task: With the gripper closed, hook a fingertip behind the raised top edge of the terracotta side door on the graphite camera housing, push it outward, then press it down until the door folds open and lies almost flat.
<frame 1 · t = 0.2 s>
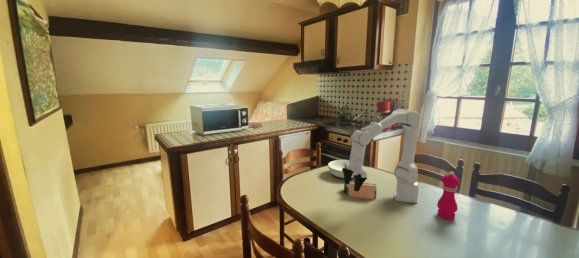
hand: (351, 187, 106), 10 cm above the table, tool pointing down, fingers open, 7 cm apart
pepper mill: (445, 216, 103), on the table
camera housing: (361, 193, 123), on the table
serving bowl: (344, 175, 148), on the table
side door: (361, 190, 118), point 4 cm above the table, hinge at 0.0°
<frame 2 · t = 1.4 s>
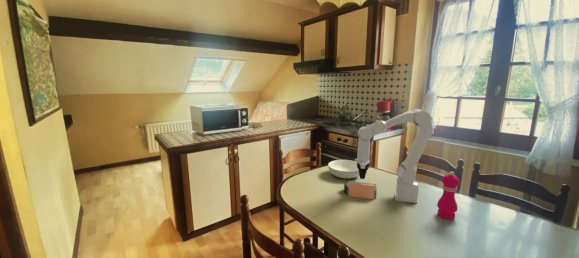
hand: (362, 177, 120), 9 cm above the table, tool pointing down, fingers closed
nothing on the table moved.
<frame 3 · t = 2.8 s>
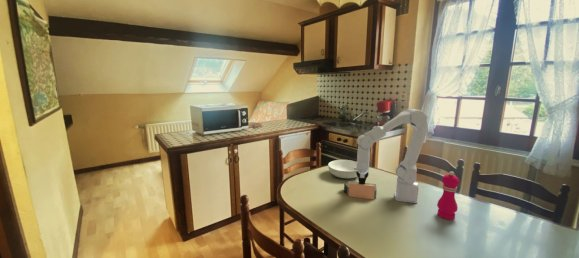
hand: (361, 186, 118), 6 cm above the table, tool pointing down, fingers closed, pressing on side door
side door: (361, 190, 118), point 4 cm above the table, hinge at 1.8°, touching gripper
everything else where it was.
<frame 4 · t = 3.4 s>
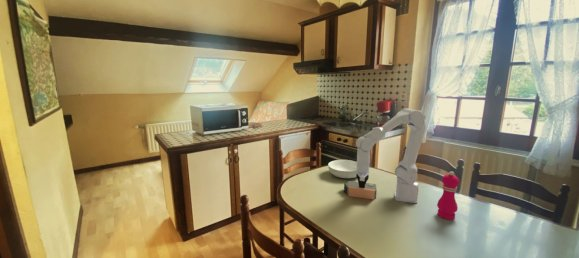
hand: (361, 189, 115), 6 cm above the table, tool pointing down, fingers closed, pressing on side door
side door: (361, 192, 116), point 3 cm above the table, hinge at 29.9°, touching gripper
everything else where it was.
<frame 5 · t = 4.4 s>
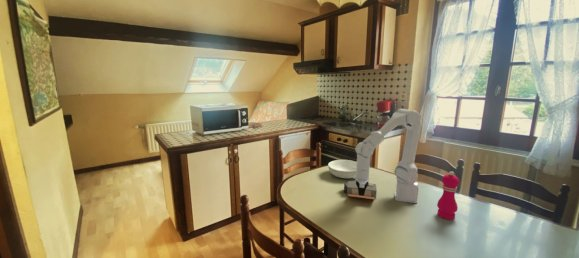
hand: (361, 195, 113), 4 cm above the table, tool pointing down, fingers closed, pressing on side door
side door: (361, 196, 115), point 2 cm above the table, hinge at 62.4°, touching gripper
everything else where it was.
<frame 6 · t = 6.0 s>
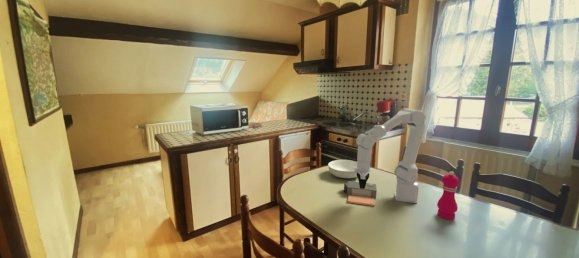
hand: (362, 188, 113), 8 cm above the table, tool pointing down, fingers closed
side door: (360, 200, 115), point 1 cm above the table, hinge at 88.5°
everything else where it was.
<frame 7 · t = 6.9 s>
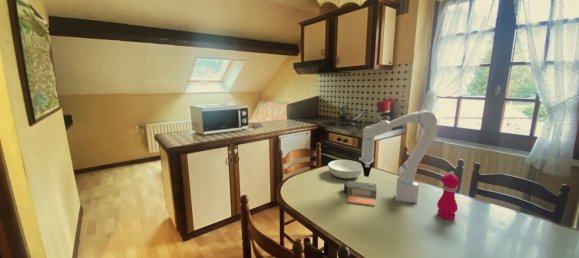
hand: (366, 176, 122), 9 cm above the table, tool pointing down, fingers closed
nothing on the table moved.
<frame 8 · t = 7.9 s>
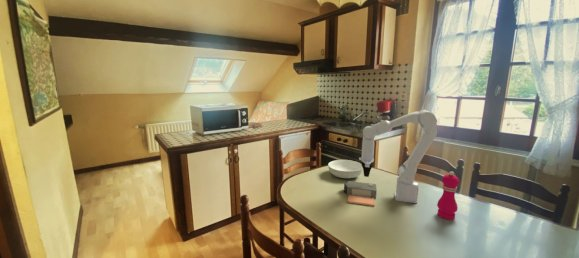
hand: (366, 176, 122), 9 cm above the table, tool pointing down, fingers closed
nothing on the table moved.
at the end: side door at +89° (first picture: +0°) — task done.
